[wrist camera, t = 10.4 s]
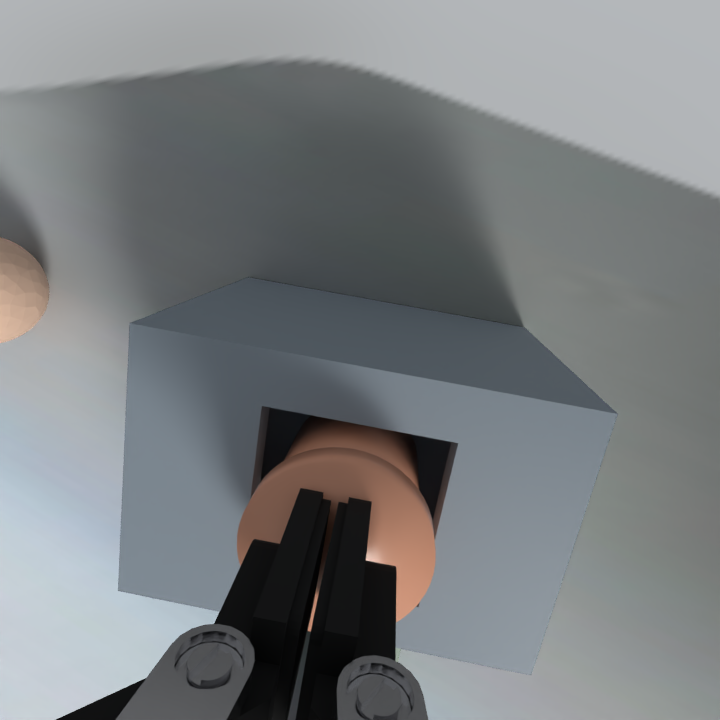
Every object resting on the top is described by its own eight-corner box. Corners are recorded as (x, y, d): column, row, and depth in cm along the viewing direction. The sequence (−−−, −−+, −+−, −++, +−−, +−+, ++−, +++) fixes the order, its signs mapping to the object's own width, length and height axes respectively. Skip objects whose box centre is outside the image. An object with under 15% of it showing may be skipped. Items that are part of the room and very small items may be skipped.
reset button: (440, 406, 16) (455, 485, 11) (411, 534, 17) (414, 653, 12) (293, 378, 16) (247, 444, 11) (275, 508, 17) (227, 615, 13)
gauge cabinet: (524, 327, 22) (617, 414, 12) (480, 492, 24) (531, 675, 14) (230, 273, 22) (98, 317, 13) (214, 441, 25) (91, 585, 15)
